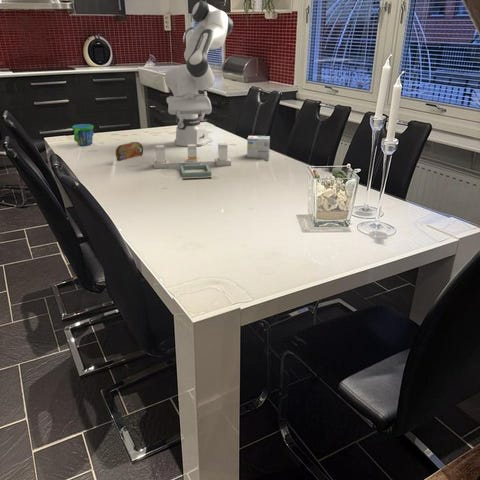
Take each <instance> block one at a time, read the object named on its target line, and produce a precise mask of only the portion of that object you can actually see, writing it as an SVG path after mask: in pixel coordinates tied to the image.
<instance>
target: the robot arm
mask: <svg viewBox="0 0 480 480" xmlns="http://www.w3.org/2000/svg"><path fill="white" fill-rule="evenodd" d="M191 19H193V21H194V22H195V23H197V24H198V25H196V26H195V27H194V29H193V31H191V35H190V36H189V39H188V41H187V44H186V47H185V50H184V53H183V57H184V59H185V61H186V64H182V65H180V66H178V67H174V68H170V69H167V71H166V72H165V74H164V83H165V85H166V87H168V88H169V89H170V91H171V93H172V95H169V96H167V97H166V99H165V100H166V104H167V105H168V107H167V112H168V114H169V115H176V125H177V126H176V128H175V129H176V130H175V132H176V133H175V139H174V142H175V145H177V146H181V147H187V144H196V147H202V146H204V145H207V144H209V143H211V142H213V138H211V137H209V131H208V130H207V128H206V127H204V126H203V125H202V124H201V122H203V121H204V117H205V115H210V114H211V113H212V110H213V109H212V108H213V107H212V103H211V100H210V98H209V97H208V93H207V91H206V90H208V89H210V88H212V86H214V84H215V81H216V79H215V75H214V73H213V71H212V69H211V66H210V63H209V60H208V54H209V50H210V49H211V50H217V49H220V48H222V47H223V45H224V44H225V41H226V37H228V36H229V35H230V34H231V32H232V30H233V28H234V21H233V20H232V18H231V17H229V16H228V15H227V13H226V12H225V11H224V10H221V9H219V8H217V7H215V6H213V5H211V4H209V3H208V2H206V1H204V0H198V1H197V2H196V4H195V5H194V6H193V8H192V12H191ZM199 115H200V116H199Z"/></svg>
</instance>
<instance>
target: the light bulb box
mask: <svg viewBox="0 0 480 480" xmlns="http://www.w3.org/2000/svg"><path fill="white" fill-rule="evenodd" d="M270 139H271V136H270V135H268V136H267V135H248V137H247V141H246V143H247V147H246V148H247V149H246V150H247V151H246V152H247V153H246V158H260V159H262V161H269V159H270V143H271V142H270V141H271V140H270Z"/></svg>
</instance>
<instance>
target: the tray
mask: <svg viewBox="0 0 480 480" xmlns="http://www.w3.org/2000/svg"><path fill="white" fill-rule="evenodd" d="M179 169H180V173H181V175H182V177H183V178H182V181H194V180H195V181H196V180H199V181H200V180H212V170H211V169H210V167H208V165H184V166H180V168H179ZM186 170H206V171H192V172H189V171H188V172H185V171H186Z"/></svg>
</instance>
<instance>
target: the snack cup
mask: <svg viewBox="0 0 480 480" xmlns="http://www.w3.org/2000/svg"><path fill="white" fill-rule="evenodd" d="M71 127H72V131H73V132H74V133H73V134H74V135H73V140H74V142H76V143H77V145H78V146H80V147H87V146H88V147H89V146H91V145H93V141H94V140H93V137H94V134H95V133H94V128H95V127H94V125H93V124H89V123H80V124H74V125H73V126H71Z"/></svg>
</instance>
